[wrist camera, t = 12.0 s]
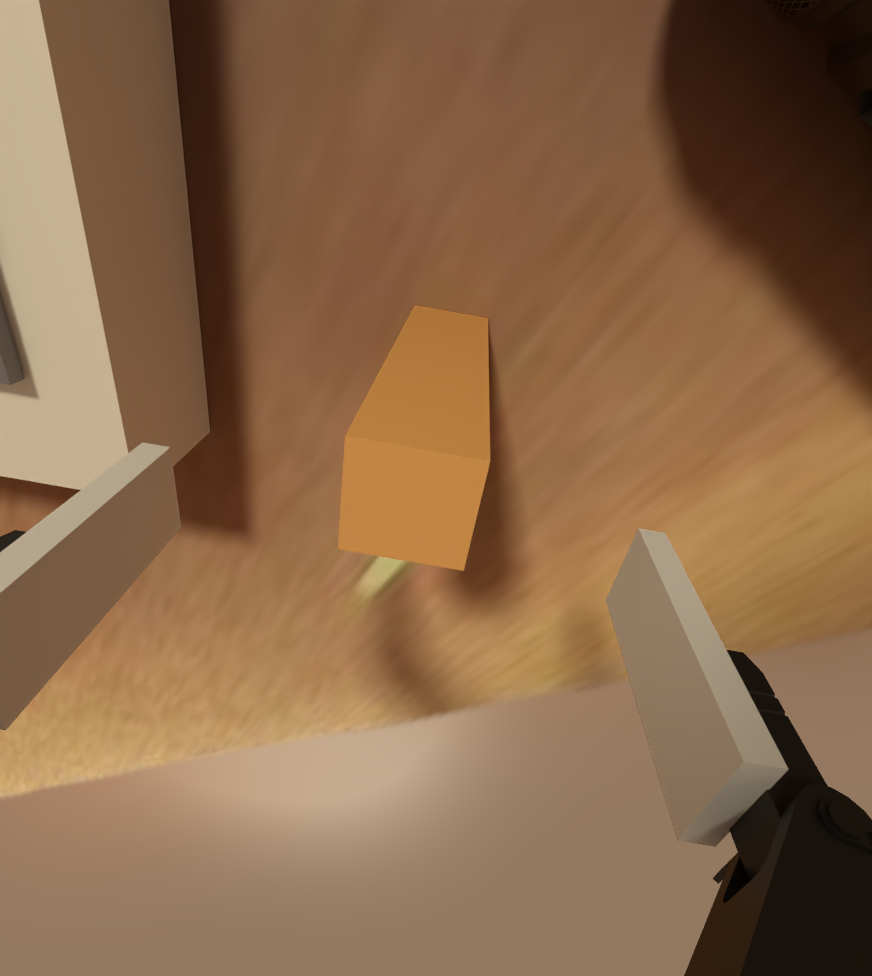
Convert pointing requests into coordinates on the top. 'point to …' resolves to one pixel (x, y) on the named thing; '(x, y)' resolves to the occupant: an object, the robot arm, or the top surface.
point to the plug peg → (421, 445)
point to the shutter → (8, 353)
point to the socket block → (95, 241)
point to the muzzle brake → (840, 44)
